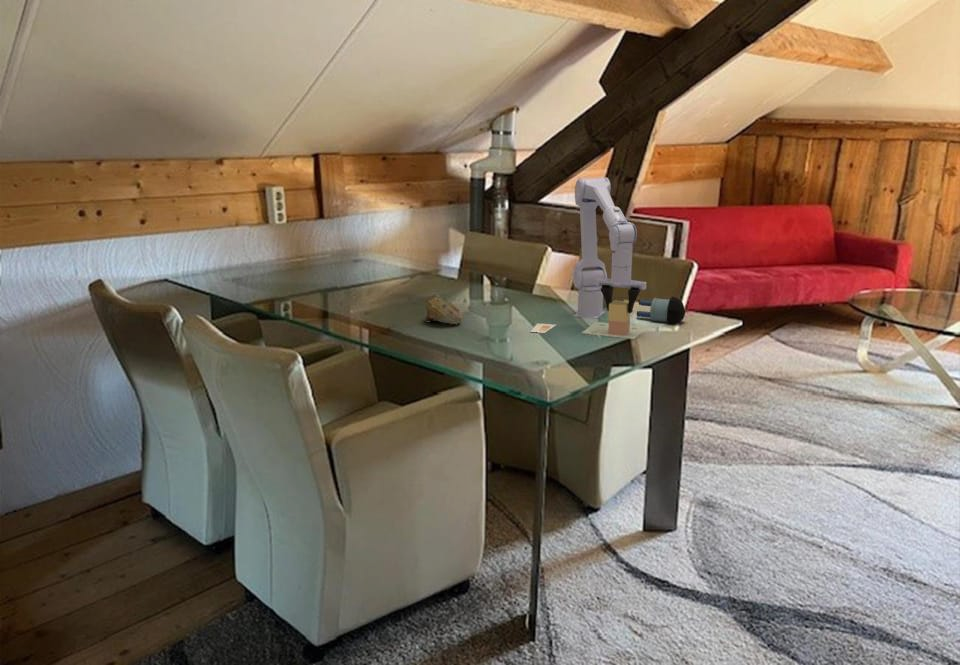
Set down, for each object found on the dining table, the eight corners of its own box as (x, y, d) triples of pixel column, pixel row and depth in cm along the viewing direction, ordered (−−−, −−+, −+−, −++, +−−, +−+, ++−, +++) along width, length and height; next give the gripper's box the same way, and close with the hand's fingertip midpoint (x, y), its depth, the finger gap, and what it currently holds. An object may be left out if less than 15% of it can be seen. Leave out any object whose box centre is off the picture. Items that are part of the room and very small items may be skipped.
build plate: (595, 323, 231) (596, 321, 230) (646, 328, 224) (646, 326, 224) (581, 334, 219) (581, 332, 218) (634, 340, 212) (634, 338, 212)
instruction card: (537, 324, 230) (537, 323, 230) (559, 325, 228) (559, 324, 228) (530, 332, 221) (530, 331, 221) (553, 334, 219) (553, 333, 219)
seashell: (445, 334, 226) (447, 302, 222) (415, 321, 235) (416, 291, 232) (471, 328, 233) (473, 297, 230) (441, 315, 243) (443, 286, 239)
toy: (637, 324, 236) (684, 329, 229) (630, 314, 229) (679, 319, 222) (642, 300, 238) (689, 305, 231) (636, 289, 231) (684, 293, 224)
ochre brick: (613, 316, 220) (613, 300, 219) (629, 318, 218) (630, 301, 217) (608, 320, 216) (609, 304, 215) (625, 322, 214) (625, 305, 213)
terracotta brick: (613, 329, 222) (613, 316, 221) (629, 331, 220) (630, 318, 218) (608, 333, 217) (608, 320, 216) (624, 335, 215) (625, 322, 214)
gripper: (593, 266, 213) (591, 311, 216) (642, 270, 206) (640, 316, 210) (600, 262, 219) (599, 306, 223) (649, 265, 213) (646, 311, 216)
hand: (619, 311), depth 217 cm, fingers open, 6 cm apart
